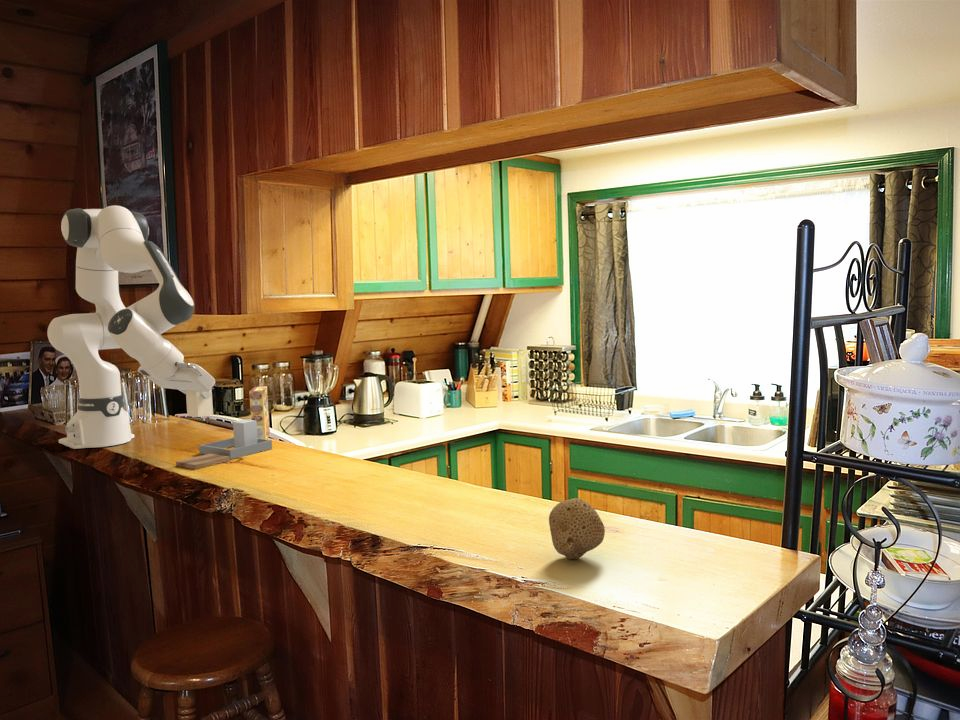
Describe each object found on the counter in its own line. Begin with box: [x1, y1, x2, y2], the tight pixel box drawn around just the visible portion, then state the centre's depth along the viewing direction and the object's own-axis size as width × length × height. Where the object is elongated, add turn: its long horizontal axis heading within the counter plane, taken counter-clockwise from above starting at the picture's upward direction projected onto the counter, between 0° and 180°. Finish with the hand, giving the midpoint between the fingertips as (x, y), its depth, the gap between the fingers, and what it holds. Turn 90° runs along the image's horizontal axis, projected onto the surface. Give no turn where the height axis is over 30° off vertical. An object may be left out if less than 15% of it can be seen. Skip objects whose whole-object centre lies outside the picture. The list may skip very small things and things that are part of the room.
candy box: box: [248, 386, 271, 440], centre depth 231 cm, size 9×4×15 cm, turn 8°
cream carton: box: [185, 389, 214, 418], centre depth 199 cm, size 5×5×9 cm
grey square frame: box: [198, 437, 273, 460], centre depth 214 cm, size 13×14×2 cm
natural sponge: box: [548, 497, 606, 560], centre depth 126 cm, size 9×9×10 cm
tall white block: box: [232, 419, 258, 448], centre depth 217 cm, size 4×4×8 cm
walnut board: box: [175, 453, 231, 470], centre depth 201 cm, size 8×10×1 cm
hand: (201, 396), depth 200 cm, fingers closed on cream carton, 4 cm apart
